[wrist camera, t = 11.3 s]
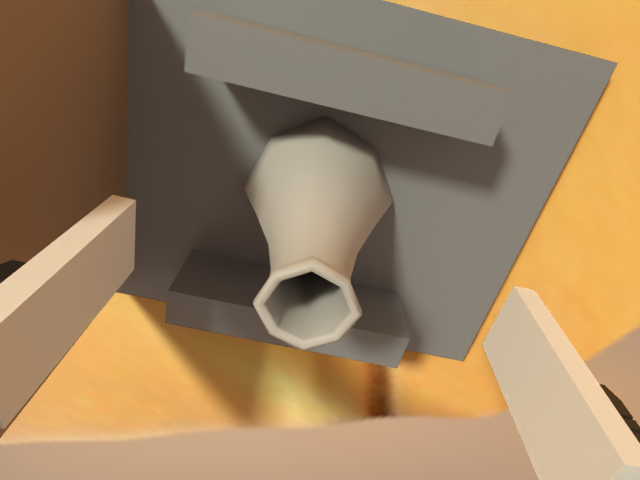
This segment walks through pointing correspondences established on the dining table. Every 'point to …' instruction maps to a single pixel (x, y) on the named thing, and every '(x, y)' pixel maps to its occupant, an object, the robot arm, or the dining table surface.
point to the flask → (314, 228)
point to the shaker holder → (276, 118)
